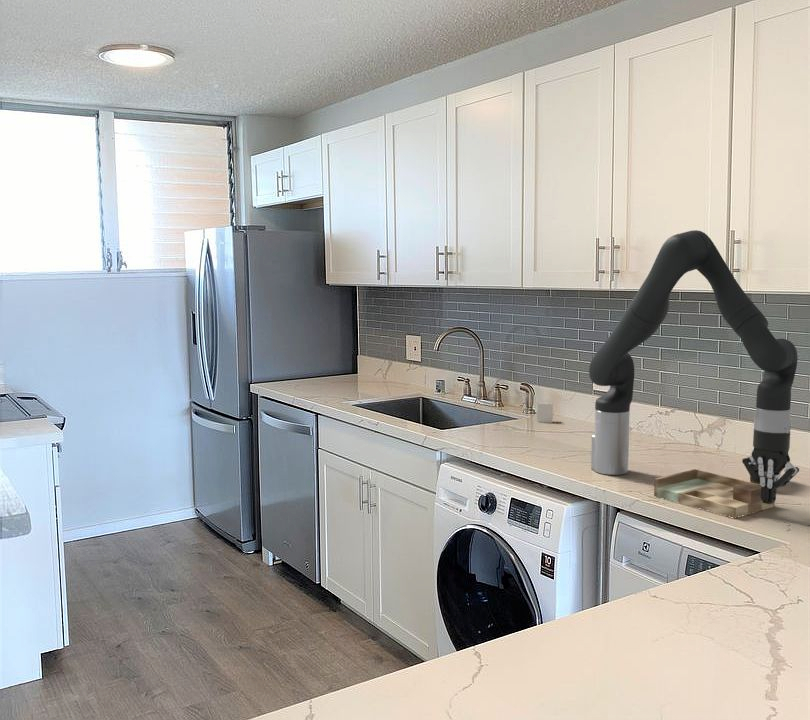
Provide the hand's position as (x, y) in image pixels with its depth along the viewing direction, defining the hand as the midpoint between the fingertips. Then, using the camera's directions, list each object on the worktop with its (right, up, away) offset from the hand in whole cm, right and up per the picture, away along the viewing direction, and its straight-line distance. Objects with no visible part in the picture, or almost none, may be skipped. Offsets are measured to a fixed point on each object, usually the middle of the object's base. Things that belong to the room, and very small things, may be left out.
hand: (768, 503), depth 185 cm
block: (-3, 0, +4) cm, 5 cm away
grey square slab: (-31, +9, +113) cm, 117 cm away
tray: (-8, -2, +12) cm, 14 cm away
